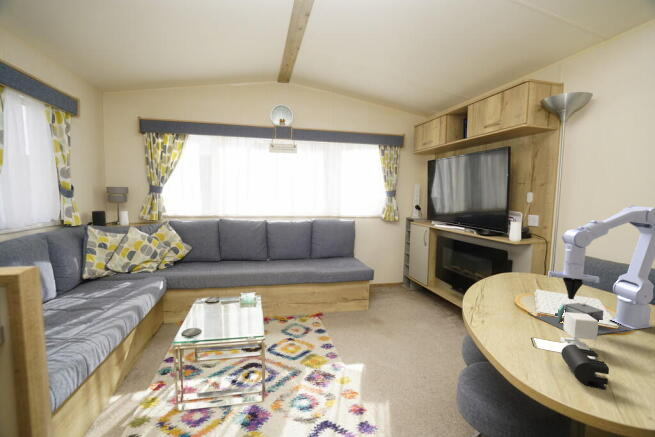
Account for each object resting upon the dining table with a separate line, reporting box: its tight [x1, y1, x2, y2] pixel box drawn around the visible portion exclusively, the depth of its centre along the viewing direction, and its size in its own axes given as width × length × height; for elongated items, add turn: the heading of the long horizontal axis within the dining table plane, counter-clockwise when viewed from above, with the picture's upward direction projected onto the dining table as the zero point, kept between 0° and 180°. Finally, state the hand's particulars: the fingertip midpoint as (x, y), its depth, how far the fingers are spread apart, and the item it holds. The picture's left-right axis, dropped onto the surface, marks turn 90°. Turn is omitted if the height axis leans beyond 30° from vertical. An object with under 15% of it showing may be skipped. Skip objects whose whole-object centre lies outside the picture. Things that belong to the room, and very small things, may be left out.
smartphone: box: [530, 337, 598, 360], centre depth 97 cm, size 8×1×16 cm
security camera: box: [560, 312, 598, 350], centre depth 98 cm, size 6×7×10 cm
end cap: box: [560, 344, 610, 391], centre depth 82 cm, size 10×7×7 cm
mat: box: [527, 312, 632, 336], centre depth 116 cm, size 24×20×1 cm
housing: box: [564, 302, 604, 322], centre depth 116 cm, size 8×9×6 cm
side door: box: [555, 303, 565, 322], centre depth 118 cm, size 2×8×5 cm, turn 133°
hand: (570, 298), depth 113 cm, fingers closed
